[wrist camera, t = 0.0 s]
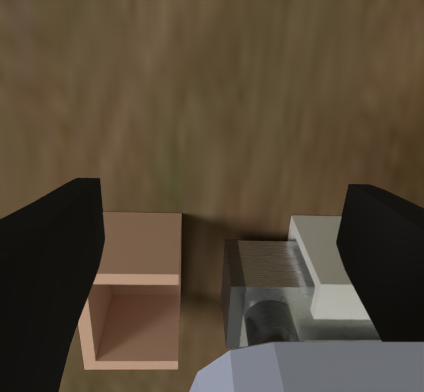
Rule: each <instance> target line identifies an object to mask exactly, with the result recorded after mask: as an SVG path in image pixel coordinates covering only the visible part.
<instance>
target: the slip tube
mask: <svg viewBox="0 0 424 392" xmlns="http://www.w3.org/2000/svg"><path fill="white" fill-rule="evenodd" d="M314 290H315V284H314V282H313V279H312V277H311V274H310V272H309V269H308V267H307V265H306V262H305V260H304V257H303V255H302V252H301V250H300V247H299V245H298V242H292V241H238V240H237V239H225V249H224V263H223V277H222V291H221V299H222V310H223V321H224V331H225V342H226V348H239V347H246V346H251V345H257V344H262V343H267V342H304V340H381V339H380V337H379V335H378V333H377V331H376V329H375V327H374V325H373V323H372V321H371V320H359V319H313V316H312V314H311V311H310V309H311V305H312V300H313V295H314Z"/></svg>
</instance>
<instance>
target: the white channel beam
mask: <svg viewBox="0 0 424 392" xmlns="http://www.w3.org/2000/svg"><path fill="white" fill-rule="evenodd" d="M341 217H342V216H302V215H291V221H290V227H289V234H288V240H287V241H292V242H298V245H299V247H300V250H301V252H302V255H303V257H304V260H305V262H306V265H307V267H308V269H309V272H310V274H311V277H312V279H313V282H314V284H315V290H314V295H313V300H312V305H311V309H310V311H311V314H312V316H313V319H359V320H371V319H370V317H369V315H368V314H367V312H366V310H365V308H364V306H363V304H362V302H361V300H360V298H359V297H358V295H357V293H356V291H355V289H354V287H353V285H352V283H351V281H350V279H349V277H348V275H347V273H346V271H345V269H344V266H343V263H342V261H341V258H340V255H339V251H338V248H337V245H336V240H337V235H338V231H339V226H340V221H341ZM304 342H382V341H381V340H304Z"/></svg>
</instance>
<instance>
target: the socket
mask: <svg viewBox="0 0 424 392" xmlns="http://www.w3.org/2000/svg"><path fill="white" fill-rule="evenodd" d="M103 219H104V230H105V243H104V248H103V253H102V257H101V262H100V266H99V269H98V272H97V275H96V277H95V280H94V283H93V285H92V288H91V291H90V293H89V296H88V298H87V301H86V304H85V306H84V309H83V311H82V314H81V316H80V319H79V322H78V325H79V332H80V339H81V346H82V354H83V361H84V368H85V370H91V369H178V353H179V327H180V302H181V236H182V213H141V212H103Z"/></svg>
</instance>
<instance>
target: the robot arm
mask: <svg viewBox="0 0 424 392" xmlns="http://www.w3.org/2000/svg"><path fill="white" fill-rule="evenodd" d="M104 243H105V230H104V219H103V208H102V197H101V185H100V178H76V179H74V180H72V181H70V182H68V183H66V184H64V185H63V186H61V187H59V188H57V189H56V190H54V191H52V192H50V193H49V194H47V195H45V196H43V197H42V198H40V199H38V200H37V201H35V202H33V203H31V204H29V205H27V206H25V207H23V208H21V209H20V210H18V211H16V212H14V213H12V214H10V215H8V216H6V217H4V218H2V219H0V392H58V391H59V387H60V383H61V379H62V375H63V371H64V367H65V363H66V359H67V356H68V352H69V348H70V344H71V341H72V338H73V335H74V332H75V329H76V327H77V324H78V322H79V319H80V316H81V314H82V311H83V309H84V306H85V304H86V301H87V298H88V296H89V293H90V291H91V288H92V285H93V283H94V280H95V277H96V275H97V272H98V269H99V266H100V262H101V257H102V253H103V248H104ZM336 245H337V248H338V251H339V255H340V258H341V261H342V263H343V266H344V269H345V271H346V273H347V275H348V277H349V279H350V281H351V283H352V285H353V287H354V289H355V291H356V293H357V295H358V297H359V298H360V300H361V302H362V304H363V306H364V308H365V310H366V312H367V314H368V315H369V317H370V319H371V321H372V323H373V325H374V327H375V329H376V331H377V333H378V335H379V337H380V339H381V341H382V342H267V343H262V344H257V345H251V346H246V347H241V348H236V349H232V350H230V351H228V352H227V353H225V354H224V355H222V356H221V357H219V358H218V359H216V360H215V361H214V362H212V363H211V364H209V365H208V366H206V367H205V368H203V369H202V370H200V371H199V372H198V373H197V375H196V378H195V380H194V382H193V384H192V387H191V389H190V391H189V392H424V208H422V207H419V206H417V205H415V204H413V203H411V202H409V201H407V200H405V199H403V198H401V197H399V196H397V195H394V194H392V193H390V192H388V191H386V190H383V189H381V188H378V187H376V186H372V185H365V184H349V185H348V190H347V194H346V199H345V203H344V208H343V212H342V217H341V221H340V226H339V231H338V235H337V240H336Z"/></svg>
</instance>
